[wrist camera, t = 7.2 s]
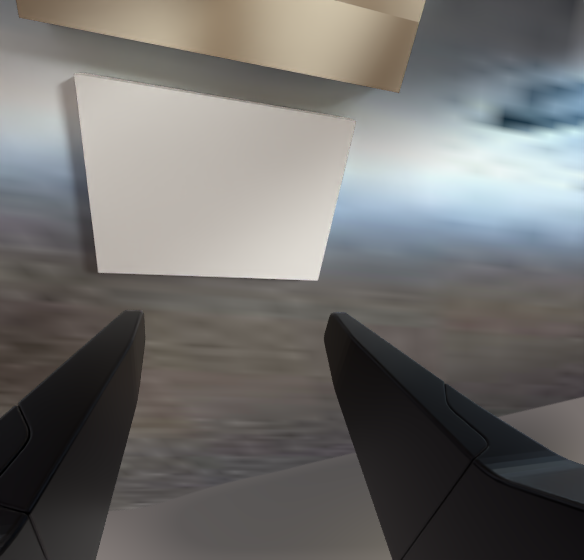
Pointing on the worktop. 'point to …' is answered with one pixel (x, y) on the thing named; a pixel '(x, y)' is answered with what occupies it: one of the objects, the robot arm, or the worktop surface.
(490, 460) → the robot arm
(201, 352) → the worktop surface
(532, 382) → the worktop surface
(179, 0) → the frame
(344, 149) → the tile
